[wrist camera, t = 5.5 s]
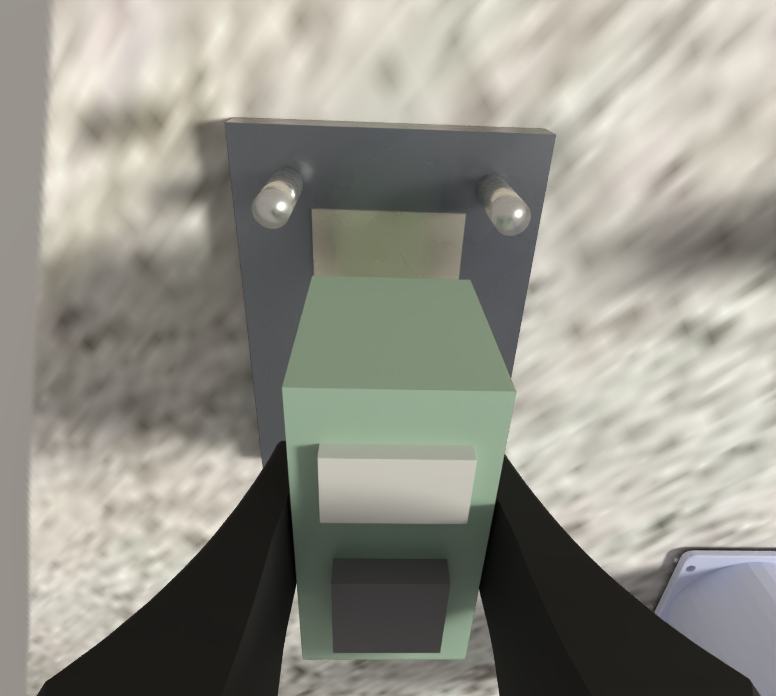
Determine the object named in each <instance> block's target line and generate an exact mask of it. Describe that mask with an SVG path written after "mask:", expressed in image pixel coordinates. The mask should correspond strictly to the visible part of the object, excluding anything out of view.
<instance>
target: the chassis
mask: <svg viewBox="0 0 776 696" xmlns="http://www.w3.org/2000/svg"><path fill="white" fill-rule="evenodd" d="M225 130H226V139H227V148H228V157H229V166H230V175H231V184H232V193H233V202H234V211H235V220H236V229H237V238H238V247H239V256H240V265H241V275H242V284H243V293H244V302H245V311H246V320H247V329H248V338H249V347H250V356H251V365H252V374H253V383H254V392H255V401H256V410H257V419H258V428H259V437H260V446H261V455H262V465H263V468H264V466H265V465H266V463H267V461H268V460H269V458H270V456H271V454H272V453H273V451H274V449H275V447H276V445H277V444H278V443H279V442H280V441H286V434H285V421H284V408H283V395H282V386H283V382H284V378H285V374H286V371H287V367H288V363H289V360H290V356H291V352H292V349H293V345H294V341H295V338H296V334H297V330H298V327H299V323H300V319H301V316H302V312H303V308H304V305H305V301H306V297H307V294H308V290H309V286H310V283H311V279H312V276H341V277H380V278H418V279H457V280H471V282H472V285H473V287H474V290H475V292H476V295H477V297H478V300H479V302H480V304H481V307H482V309H483V312H484V314H485V317H486V319H487V321H488V324H489V326H490V329H491V331H492V334H493V336H494V339H495V341H496V343H497V346H498V348H499V351H500V353H501V356H502V358H503V360H504V363H505V365H506V368H507V370H508V373H509V375H510V378H511V375H512V370H513V365H514V359H515V354H516V348H517V343H518V337H519V332H520V327H521V321H522V316H523V310H524V305H525V300H526V294H527V289H528V283H529V278H530V273H531V267H532V262H533V256H534V251H535V245H536V240H537V235H538V229H539V224H540V218H541V213H542V208H543V202H544V197H545V191H546V186H547V181H548V175H549V170H550V164H551V159H552V153H553V148H554V143H555V137H556V134H554V133H552V132H550V131H549V130H547V129H540V128H513V127H486V126H458V125H431V124H404V123H377V122H350V121H323V120H296V119H269V118H242V117H233V118H232V119H230V120H228V121H226V122H225Z"/></svg>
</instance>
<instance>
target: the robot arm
mask: <svg viewBox="0 0 776 696" xmlns="http://www.w3.org/2000/svg"><path fill="white" fill-rule="evenodd" d="M296 584H297V579H296V566H295V553H294V539H293V526H292V513H291V500H290V487H289V474H288V460H287V447H286V441H280V442H279V443H278V444H277V445H276V447H275V449H274V451H273V453H272V454H271V456H270V458H269V460H268V461H267V463H266V465H265V466H264V468H263V469H262V471H261V472H260V474H259V475H258V477H257V479H256V480H255V482H254V483H253V484H252V486H251V487H250V489H249V490H248V492H247V493H246V494H245V496H244V497H243V499H242V500H241V501H240V503H239V504H238V506H237V507H236V508H235V510H234V511H233V512H232V513H231V515H230V516H229V517H228V518H227V520H226V521H225V522H224V523H223V525H222V526H221V527H220V528H219V530H218V531H217V532H216V533H215V534H214V536H213V537H212V538H211V539H210V540H209V541H208V543H207V544H206V545H205V546H204V547H203V548H202V549H201V550H200V552H199V553H198V554H197V555H196V556H195V557H194V558H193V559H192V560H191V561H190V562H189V563H188V564H187V565H186V566H185V567H184V568H183V569H182V570H181V571H180V572H179V573H178V574H177V575H176V576H175V577H174V578H173V579H172V580H171V581H170V582H169V583H168V584H167V585H166V586H165V587H164V588H163V589H162V590H161V591H160V592H159V593H158V594H157V595H155V596H154V597H153V598H152V599H151V600H150V601H149V602H148V603H147V604H146V605H144V606H143V607H142V608H141V609H140V610H138V611H137V612H136V613H135V614H134V615H132V616H131V617H130V618H129V619H128V620H126V621H125V622H124V623H123V624H122V625H121V626H119V627H118V628H117V629H116V630H115V631H113V632H112V633H111V634H110V635H109V636H107V637H106V638H105V639H103V640H102V641H101V642H100V643H98V644H97V645H96V646H94V647H93V648H92V649H90V650H89V651H88V652H86V653H85V654H83V655H82V656H81V657H79V658H78V659H77V660H75V661H74V662H73V663H71V664H70V665H68V666H67V667H66V668H64V669H63V670H62V671H60V672H59V673H58V674H56V675H55V676H53V677H52V678H50V679H49V680H48V681H46V682H45V683H44V685H43V687H42V688H41V690H40V691H39V693H38V695H37V696H278V688H279V680H280V672H281V664H282V656H283V648H284V642H285V637H286V631H287V626H288V621H289V617H290V612H291V607H292V603H293V598H294V593H295V589H296ZM479 591H480V595H481V599H482V603H483V607H484V612H485V616H486V620H487V624H488V628H489V633H490V638H491V643H492V648H493V654H494V660H495V667H496V674H497V681H498V688H499V695H500V696H776V551H711V550H691V551H687V552H685V553H683V554H682V556H681V557H680V560H679V562H678V564H677V566H676V568H675V570H674V572H673V574H672V576H671V578H670V581H669V583H668V585H667V587H666V589H665V591H664V593H663V595H662V597H661V599H660V602H659V604H658V606H657V608H656V610H655V612H654V613H653V612H652V611H651V610H650V609H648V608H647V607H646V606H645V605H644V604H642V603H641V602H640V601H639V600H638V599H636V598H635V597H634V596H633V595H631V594H630V593H629V592H628V591H627V590H625V589H624V588H623V587H622V586H621V585H619V584H618V583H617V582H616V581H615V580H614V579H613V578H612V577H610V576H609V575H608V574H607V573H606V572H605V571H604V570H603V569H602V568H601V567H600V566H599V565H598V564H597V563H596V562H595V561H593V560H592V559H591V558H590V557H589V556H588V555H587V554H586V553H585V552H584V551H583V550H582V549H581V547H580V546H579V545H578V544H577V543H576V542H575V541H574V540H573V539H572V538H571V537H570V536H569V535H568V534H567V532H566V531H565V530H564V529H563V528H562V527H561V526H560V525H559V524H558V522H557V521H556V520H555V519H554V518H553V516H552V515H551V514H550V513H549V512H548V511H547V509H546V508H545V507H544V506H543V504H542V503H541V502H540V501H539V499H538V498H537V497H536V496H535V494H534V493H533V492H532V491H531V489H530V488H529V487H528V485H527V484H526V483H525V481H524V480H523V479H522V477H521V476H520V475H519V473H518V472H517V471H516V469H515V468H514V466H513V465H512V464H511V462H510V461H509V459H508V458H507V457H506V455H505V454H504V459H503V464H502V470H501V475H500V480H499V485H498V491H497V496H496V501H495V506H494V512H493V517H492V522H491V527H490V533H489V538H488V543H487V548H486V554H485V559H484V564H483V569H482V575H481V580H480V585H479Z"/></svg>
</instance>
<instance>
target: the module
mask: <svg viewBox="0 0 776 696" xmlns="http://www.w3.org/2000/svg"><path fill="white" fill-rule="evenodd" d="M282 395H283V408H284V421H285V434H286V447H287V460H288V474H289V487H290V500H291V513H292V526H293V539H294V553H295V566H296V579H297V592H298V605H299V618H300V632H301V645H302V658H303V660H332V659H466V653H467V648H468V643H469V638H470V632H471V627H472V622H473V617H474V611H475V606H476V601H477V596H478V590H479V585H480V580H481V575H482V569H483V564H484V559H485V554H486V548H487V543H488V538H489V533H490V527H491V522H492V517H493V512H494V506H495V501H496V496H497V491H498V485H499V480H500V475H501V470H502V464H503V459H504V454H505V449H506V443H507V438H508V433H509V428H510V422H511V417H512V412H513V407H514V401H515V396H516V390H515V387H514V385H513V382H512V380H511V378H510V375H509V373H508V370H507V368H506V365H505V363H504V360H503V358H502V356H501V353H500V351H499V348H498V346H497V343H496V341H495V339H494V336H493V334H492V331H491V329H490V326H489V324H488V321H487V319H486V317H485V314H484V312H483V309H482V307H481V304H480V302H479V300H478V297H477V295H476V292H475V290H474V287H473V285H472V282H471V280H457V279H418V278H380V277H341V276H312V279H311V283H310V286H309V290H308V294H307V297H306V301H305V305H304V308H303V312H302V316H301V319H300V323H299V327H298V330H297V334H296V338H295V341H294V345H293V349H292V352H291V356H290V360H289V363H288V367H287V371H286V374H285V378H284V382H283V386H282Z"/></svg>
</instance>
